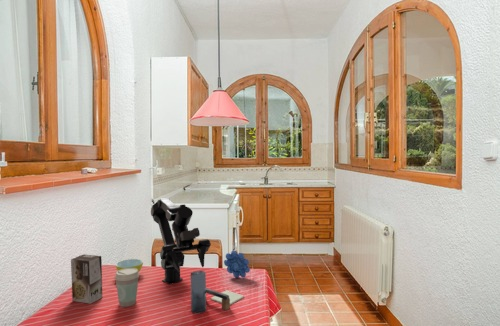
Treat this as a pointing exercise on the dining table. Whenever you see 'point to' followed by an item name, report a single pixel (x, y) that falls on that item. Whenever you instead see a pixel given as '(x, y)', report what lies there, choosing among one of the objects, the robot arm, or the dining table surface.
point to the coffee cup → (127, 286)
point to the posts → (225, 304)
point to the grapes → (236, 264)
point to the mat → (232, 296)
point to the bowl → (129, 264)
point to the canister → (198, 292)
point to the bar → (217, 294)
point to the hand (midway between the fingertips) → (191, 269)
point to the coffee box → (86, 278)
